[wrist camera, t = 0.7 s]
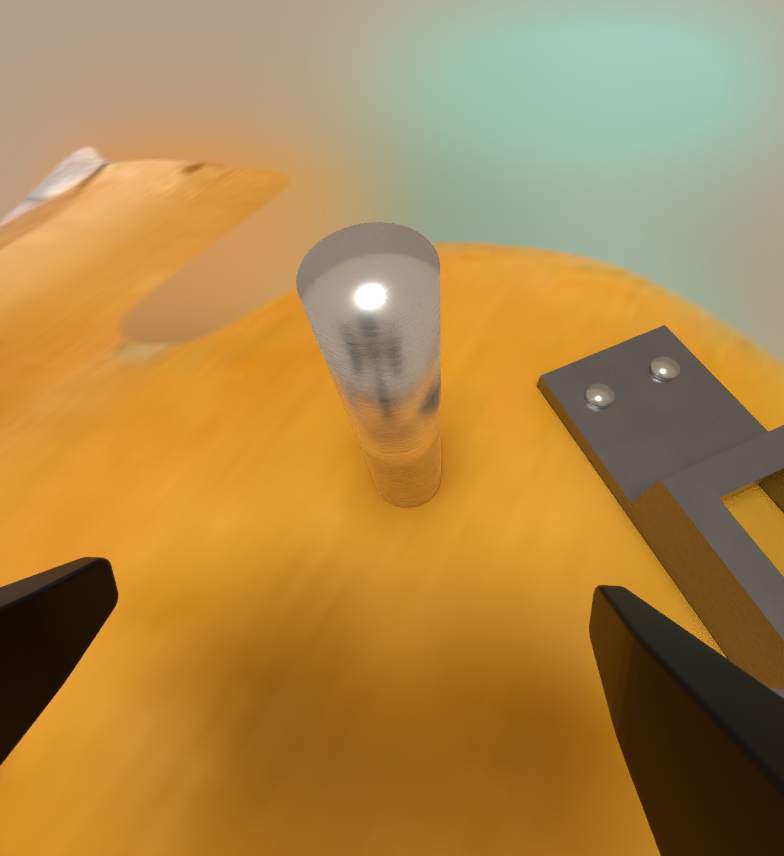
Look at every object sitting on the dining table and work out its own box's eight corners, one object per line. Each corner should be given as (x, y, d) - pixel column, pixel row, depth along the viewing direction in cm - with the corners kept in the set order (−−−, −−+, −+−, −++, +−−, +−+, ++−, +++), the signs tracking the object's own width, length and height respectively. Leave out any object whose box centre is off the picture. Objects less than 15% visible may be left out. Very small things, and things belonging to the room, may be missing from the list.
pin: (452, 491, 22) (465, 292, 10) (389, 518, 22) (320, 348, 10) (424, 435, 24) (405, 206, 12) (365, 459, 24) (280, 250, 11)
